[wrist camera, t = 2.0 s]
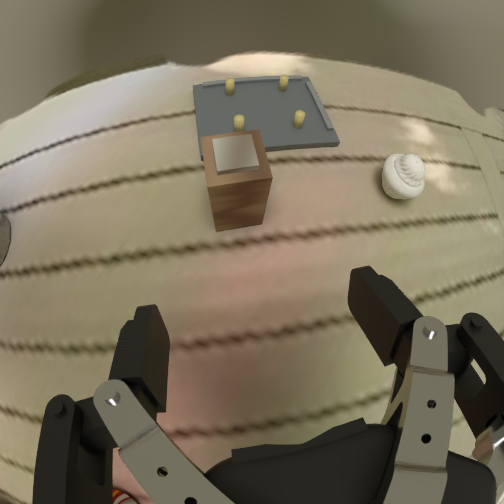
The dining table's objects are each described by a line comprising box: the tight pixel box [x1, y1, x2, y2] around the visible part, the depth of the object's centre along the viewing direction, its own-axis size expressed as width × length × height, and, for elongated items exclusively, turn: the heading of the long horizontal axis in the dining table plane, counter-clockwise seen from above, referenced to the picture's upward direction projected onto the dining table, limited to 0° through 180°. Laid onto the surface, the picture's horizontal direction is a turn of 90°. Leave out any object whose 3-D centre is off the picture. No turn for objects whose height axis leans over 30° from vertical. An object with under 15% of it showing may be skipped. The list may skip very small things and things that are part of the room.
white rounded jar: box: [382, 153, 426, 199], centre depth 29 cm, size 6×6×7 cm
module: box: [201, 130, 273, 232], centre depth 26 cm, size 5×5×11 cm
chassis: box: [193, 75, 340, 161], centre depth 33 cm, size 18×14×4 cm
